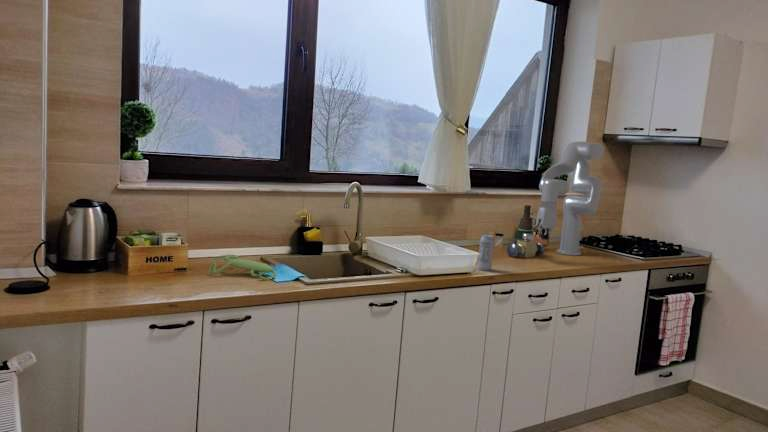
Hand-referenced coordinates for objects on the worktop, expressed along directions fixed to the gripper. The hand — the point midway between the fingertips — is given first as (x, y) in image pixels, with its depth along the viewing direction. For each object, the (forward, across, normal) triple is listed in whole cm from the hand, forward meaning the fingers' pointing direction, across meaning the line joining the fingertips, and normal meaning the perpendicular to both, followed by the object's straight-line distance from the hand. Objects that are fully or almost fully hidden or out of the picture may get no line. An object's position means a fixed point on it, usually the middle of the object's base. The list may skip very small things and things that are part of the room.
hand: (544, 242), depth 292 cm
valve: (+9, 0, -11) cm, 14 cm away
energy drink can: (+9, +46, +6) cm, 47 cm away
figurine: (+9, +148, -20) cm, 149 cm away
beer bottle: (+10, -15, -26) cm, 31 cm away
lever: (0, +2, -5) cm, 5 cm away
